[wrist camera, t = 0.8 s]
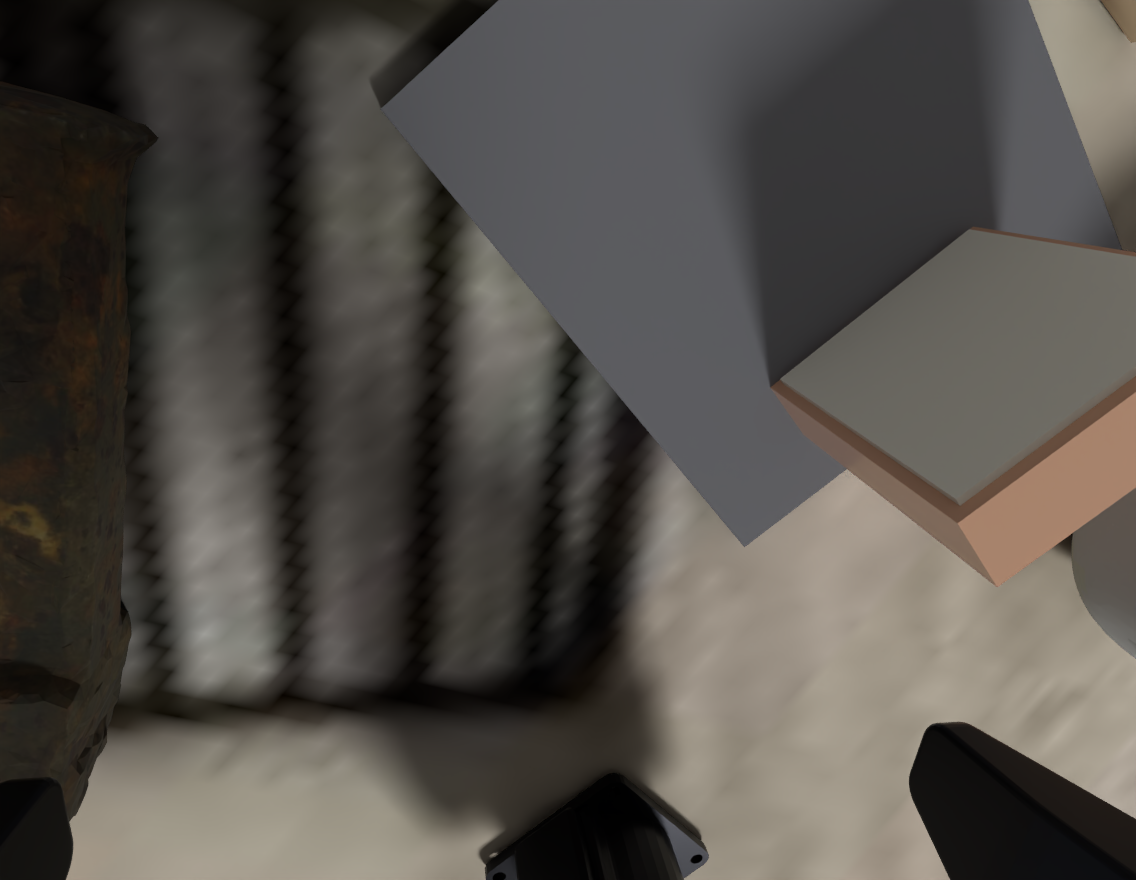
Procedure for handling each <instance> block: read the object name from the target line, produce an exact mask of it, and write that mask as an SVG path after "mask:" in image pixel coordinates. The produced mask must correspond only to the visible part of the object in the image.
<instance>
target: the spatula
mask: <svg viewBox="0 0 1136 880" xmlns="http://www.w3.org/2000/svg"><path fill="white" fill-rule="evenodd" d="M1101 1H1102V3H1103V4H1104V6H1105V7H1106V8H1107V10H1108V11H1109V13H1110V14H1111V15H1112V17H1113V18H1114V20H1115V21H1116V22H1117V24H1118V25H1119V27H1120V28H1121V29H1122V31H1123V32H1124V34H1125V35H1126V36H1127V38H1128V39H1129V41H1130V42H1131V43H1132V42H1136V0H1101Z"/></svg>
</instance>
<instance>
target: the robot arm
mask: <svg viewBox="0 0 1136 880" xmlns="http://www.w3.org/2000/svg"><path fill="white" fill-rule="evenodd" d="M614 787H615V788H614ZM909 788H910V793H911V796H912V799H913V802H914V804H915V806H916V808H917V810H918V812H919V814H920V816H921V819H922V821H923V823H924V825H925V827H926V829H927V831H928V833H929V836H930V838H931V840H932V842H933V844H934V846H935V848H936V850H937V853H938V855H939V857H940V859H941V861H942V863H943V865H944V867H945V870H946V872H947V874H948V876H949V878H950V880H1136V819H1135V818H1133V817H1131V816H1129V815H1128V814H1126V813H1124V812H1122V811H1121V810H1119V809H1117V808H1115V807H1114V806H1112V805H1110V804H1108V803H1107V802H1105V801H1103V800H1101V799H1100V798H1098V797H1096V796H1094V795H1093V794H1091V793H1089V792H1087V791H1086V790H1084V789H1082V788H1081V787H1079V786H1077V785H1075V784H1074V783H1072V782H1070V781H1068V780H1067V779H1065V778H1063V777H1061V776H1060V775H1058V774H1056V773H1054V772H1053V771H1051V770H1049V769H1047V768H1046V767H1044V766H1042V765H1040V764H1039V763H1037V762H1035V761H1033V760H1032V759H1030V758H1028V757H1026V756H1025V755H1023V754H1021V753H1019V752H1018V751H1016V750H1014V749H1012V748H1011V747H1009V746H1007V745H1005V744H1004V743H1002V742H1000V741H998V740H997V739H995V738H993V737H991V736H990V735H988V734H986V733H984V732H983V731H981V730H979V729H977V728H976V727H974V726H972V725H970V724H967V723H964V722H948V723H935V724H932V725H930V726H929V727H928V728H927V729H926V731H925V733H924V735H923V738H922V741H921V743H920V746H919V749H918V752H917V755H916V758H915V760H914V763H913V766H912V769H911V772H910V776H909ZM72 855H73V837H72V833H71V828H70V823H69V818H68V814H67V809H66V804H65V799H64V795H63V790H62V787H61V784H60V783H59V782H58V780H56V779H55V778H50V777H40V778H24V779H11V780H7V781H4V782H2V783H0V880H66V878H67V875H68V872H69V869H70V865H71V861H72ZM708 858H709V855H708V852H707V849H706V847H705V845H704V843H703V842H702V841H700V840H699V839H698V838H697V837H696V836H694V835H693V834H692V833H691V832H690V831H688V830H687V829H686V828H685V827H684V826H682V825H681V824H680V823H679V822H678V821H676V820H675V819H674V818H673V817H672V816H670V815H669V814H668V813H667V812H666V811H664V810H663V809H662V808H661V807H660V806H658V805H657V804H656V803H655V802H654V801H652V800H651V799H650V798H649V797H648V796H646V795H645V794H644V793H643V792H642V791H641V790H639V789H638V788H637V787H636V786H635V785H633V784H632V783H631V782H630V781H629V780H627V779H626V778H625V777H624V776H622V775H620V774H617V773H612V774H608V775H606V776H605V777H603V778H602V779H600V780H599V781H598V782H596V783H595V784H594V785H592V786H591V787H589V788H588V789H587V790H585V791H584V792H583V793H581V794H580V795H579V796H577V797H576V798H575V799H573V800H572V801H571V802H569V803H568V804H566V805H565V806H564V807H562V808H561V809H560V810H558V811H557V812H556V813H554V814H553V815H552V816H550V817H549V818H547V819H546V820H545V821H543V822H542V823H541V824H539V825H538V826H537V827H535V828H534V829H533V830H531V831H530V832H529V833H527V834H526V835H524V836H523V837H522V838H520V839H519V840H518V841H516V842H515V843H514V844H512V845H511V846H510V847H508V848H507V849H506V850H504V851H503V852H501V853H500V854H499V855H497V856H496V857H495V858H493V859H492V860H491V861H489V862H488V863H487V864H486V867H485V874H486V880H684V878H685V877H687V876H688V875H689V874H691V873H692V872H694V871H695V870H696V869H698V868H699V867H701V866H702V865H704V864H705V863H706V862H707V860H708Z"/></svg>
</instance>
